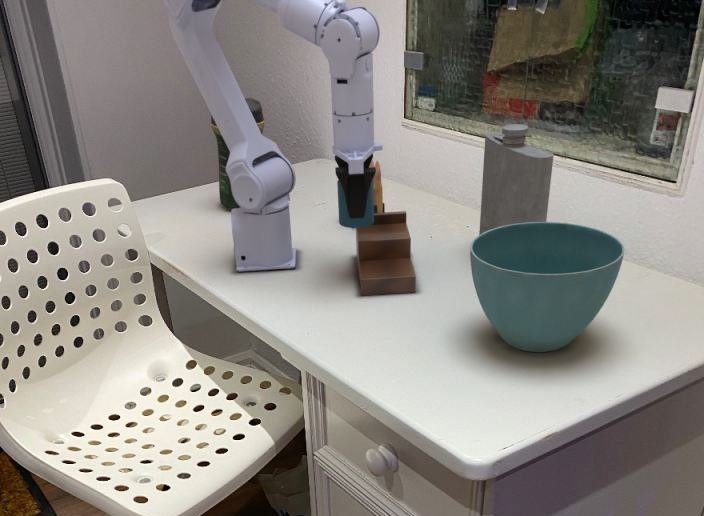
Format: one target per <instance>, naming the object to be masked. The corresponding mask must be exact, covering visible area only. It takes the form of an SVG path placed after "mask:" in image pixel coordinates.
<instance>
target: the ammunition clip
mask: <svg viewBox="0 0 704 516" xmlns="http://www.w3.org/2000/svg"><path fill="white" fill-rule="evenodd" d="M371 167H375V169H376V172H375V175H374V177H373V191H374V213H385V212H386V211H385V209H386V207H385V206H386V205H385V203H384V202H383V198H384V197H383V191H384V190H383V183H382V171H381V165H380V162H379V160H376V162H375V163H374V160H373V159H372V161H371V163H370V166H369V168H371Z"/></svg>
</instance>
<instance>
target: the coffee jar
mask: <svg viewBox="0 0 704 516" xmlns="http://www.w3.org/2000/svg"><path fill="white" fill-rule="evenodd" d="M244 98H245V101H246V103H247V105H248V107H249V109H250V111H251V113H252V115H253V117H254V119H255V122H256V124H257V126H258V128H259V130H260V132H261V134H262V135H263V131H264V128H265V119H264V113H263V107H262V104H261V102H260V101H259V100H257V99H255V98H253V97H244ZM210 126H211V130H212V132H213V134H214V136H215V139H216V145H217V156H218V190H219V191H218V192H219V202H220V204H221V205H222V206H223V208H224V209H227V210H232V209H234V208H241V207H240V206H239V205H238V204H237V202H236V201H235V199H234V197H233V194H232V190H231V182H230V179H229V176H228V174H227V172H226V166H227V162H228V159H229V155H230V151H229V149H228V147H227V145H226V143H225V141H224V139H223V137H222V135H221V133H220V131H219V129H218V127H217V125H216V123H215V121H214V119H213V117H212V115H211V114H210ZM254 164H256V163H255V162H253V163H252V165H254Z"/></svg>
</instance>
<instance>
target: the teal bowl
mask: <svg viewBox="0 0 704 516" xmlns="http://www.w3.org/2000/svg"><path fill="white" fill-rule="evenodd" d="M624 255H625V246H624V244H623V242H622V241H620V240H619V238H617V236H614V235H612V234H611V233H609V232H606V231H604V230H601V229H597V228H595V227H590V226H586V225H582V224H575V223H570V222H560V221H558V222H557V221H546V222H527V223H518V224H511V225H505V226H501V227H497V228H494V229H491V230H488V231H486V232H484V233H482V234H480V235H477V236H475V238H474V239H473V240H472V241H471V243H470V249H469V257H470V259H469V260H470V268H471V269H470V270H471V275H472V280H473V286H474V290H475V293H476V295H477V296H476V297H477V299H478V301H479V304H480V306H481V309H482V310H483V313H484V315H485V316H486V318H487V320H488V321H489V323H490V325H491V326H492V328H493V329H494V330H495V331H496V333H497V334H498V335H499V336H500V338H501V339H503V341H504V342H505V343H507V344H508V345H509V346H510V347H512V348H514V349H517V350H520V351H525V352H531V353H533V352H535V353H545V352H546V353H547V352H552V351H556V350H559V349H562V348H563V347H566V345H567V346H568V344H570V343H571V342H572V341H573V340H574V339H575V338H577V337H578V336H579V335H580V334H581V333H582V332H583V331H584V330H585V329H586V328H588V326H589V325H590V324H591V323H592V322H593V320H594V319H595V318H596V317H597V315H598V314H599V312H600V311H601V310H602V308H603V306H604V305H605V303H606V301H607V300H608V298H609V296H610V294H611V292H612V290H613V288H614V285H615V283H616V281H617V278H618V277H619V274H620V273H619V272H620V270H621V267H622V263H623V260H624V259H623V258H624Z"/></svg>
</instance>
